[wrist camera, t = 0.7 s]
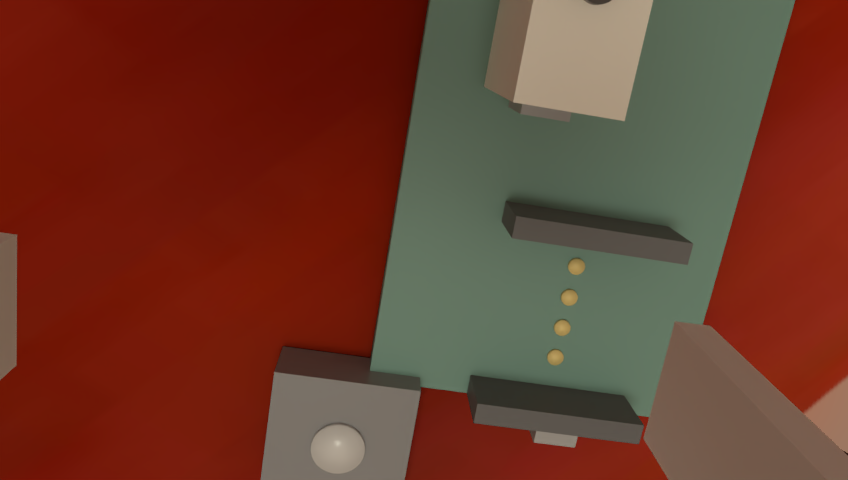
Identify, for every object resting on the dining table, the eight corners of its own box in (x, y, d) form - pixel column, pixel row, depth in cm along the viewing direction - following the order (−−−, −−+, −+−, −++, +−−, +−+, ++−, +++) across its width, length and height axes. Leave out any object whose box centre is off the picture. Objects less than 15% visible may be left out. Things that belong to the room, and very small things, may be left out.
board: (442, -87, 33) (451, -106, 28) (784, -22, 34) (842, -30, 30) (367, 377, 38) (364, 420, 34) (662, 416, 40) (695, 462, 35)
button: (282, 346, 38) (273, 374, 34) (418, 364, 38) (421, 394, 35) (267, 466, 39) (257, 504, 36) (397, 481, 40) (397, 520, 37)
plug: (509, -55, 32) (553, -86, 23) (600, -38, 32) (674, -63, 24) (481, 100, 33) (512, 121, 25) (567, 114, 34) (625, 140, 25)
